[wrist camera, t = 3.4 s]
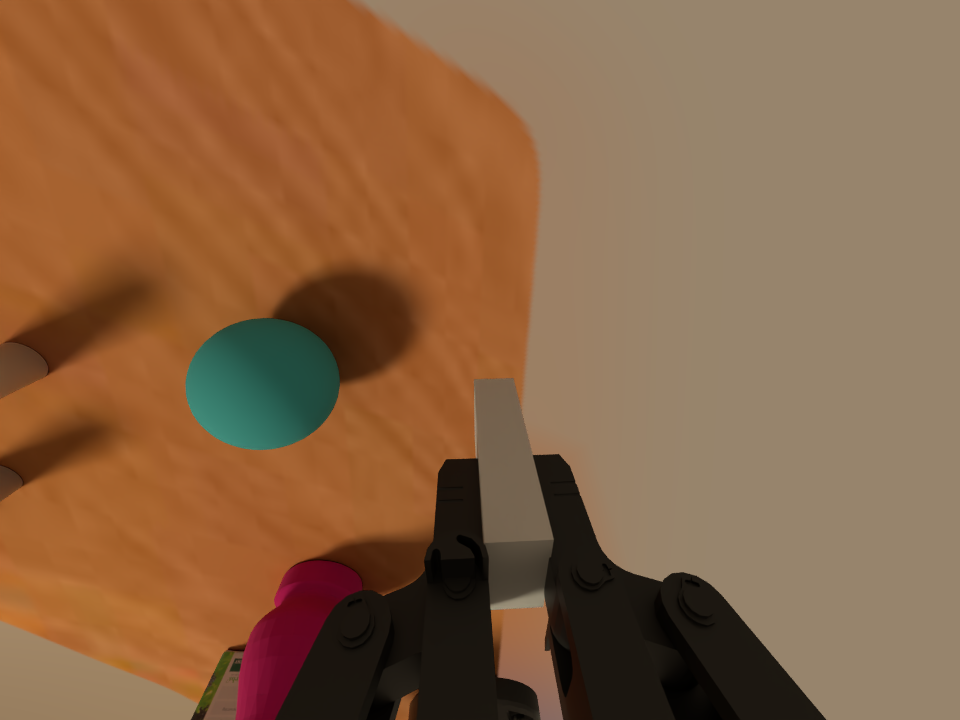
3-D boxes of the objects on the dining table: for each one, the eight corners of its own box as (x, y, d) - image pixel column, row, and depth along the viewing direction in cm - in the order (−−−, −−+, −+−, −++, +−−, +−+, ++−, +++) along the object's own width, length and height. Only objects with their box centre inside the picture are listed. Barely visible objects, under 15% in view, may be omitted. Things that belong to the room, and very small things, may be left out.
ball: (362, 398, 20) (327, 476, 15) (256, 401, 20) (184, 482, 15) (342, 299, 17) (292, 352, 12) (219, 301, 17) (113, 357, 12)
